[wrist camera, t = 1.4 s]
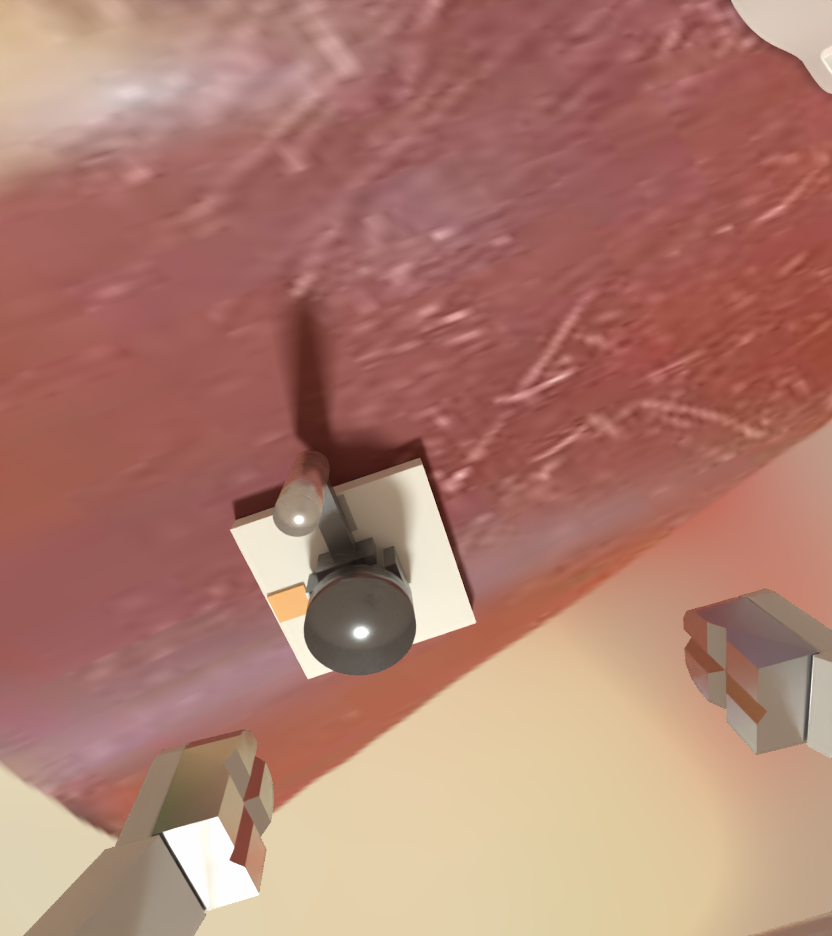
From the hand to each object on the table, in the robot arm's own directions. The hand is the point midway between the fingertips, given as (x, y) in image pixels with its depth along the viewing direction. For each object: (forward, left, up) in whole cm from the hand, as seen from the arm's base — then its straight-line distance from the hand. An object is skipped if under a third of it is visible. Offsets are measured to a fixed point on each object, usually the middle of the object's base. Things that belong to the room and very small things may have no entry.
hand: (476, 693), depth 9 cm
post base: (+7, +11, -26) cm, 29 cm away
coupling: (+7, +8, -24) cm, 26 cm away
